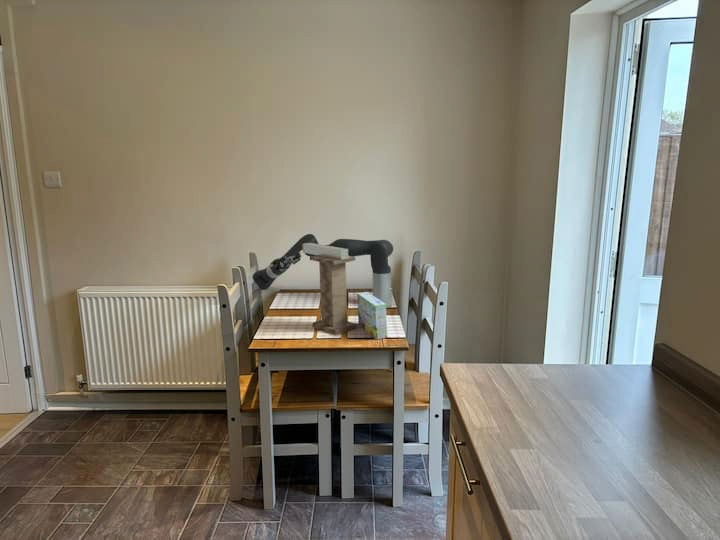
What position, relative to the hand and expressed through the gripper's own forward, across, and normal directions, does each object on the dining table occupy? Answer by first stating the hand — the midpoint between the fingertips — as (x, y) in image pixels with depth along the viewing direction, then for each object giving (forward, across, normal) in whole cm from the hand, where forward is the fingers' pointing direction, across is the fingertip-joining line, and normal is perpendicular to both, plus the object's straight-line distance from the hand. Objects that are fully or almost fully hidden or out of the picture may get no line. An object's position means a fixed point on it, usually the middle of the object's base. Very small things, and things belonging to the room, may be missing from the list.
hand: (293, 255), depth 227 cm
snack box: (+24, +8, +47) cm, 53 cm away
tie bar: (+22, 0, +9) cm, 24 cm away
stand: (+10, 0, +39) cm, 41 cm away
